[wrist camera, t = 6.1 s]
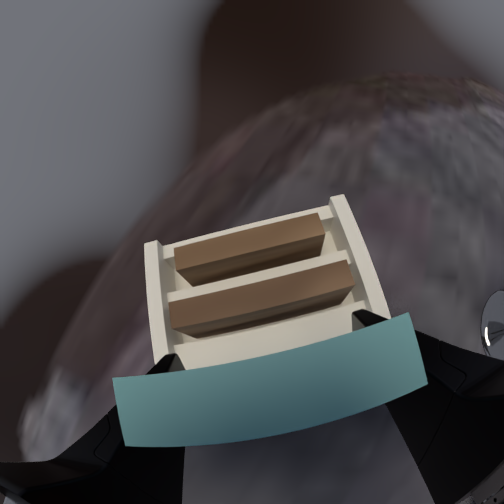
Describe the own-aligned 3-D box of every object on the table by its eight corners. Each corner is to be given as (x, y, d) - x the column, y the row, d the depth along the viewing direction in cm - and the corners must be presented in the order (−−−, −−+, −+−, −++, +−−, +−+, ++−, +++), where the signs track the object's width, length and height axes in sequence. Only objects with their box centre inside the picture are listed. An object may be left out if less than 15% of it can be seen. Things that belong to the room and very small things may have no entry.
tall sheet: (338, 378, 13) (427, 383, 4) (226, 403, 13) (125, 446, 4) (332, 351, 14) (408, 311, 5) (221, 377, 14) (112, 377, 5)
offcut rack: (385, 378, 16) (407, 378, 13) (190, 423, 17) (168, 433, 13) (335, 223, 22) (343, 194, 18) (166, 265, 22) (144, 243, 18)
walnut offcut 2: (340, 304, 18) (355, 284, 14) (196, 338, 18) (171, 328, 14) (334, 284, 19) (346, 259, 15) (193, 318, 19) (168, 302, 15)
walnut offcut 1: (319, 259, 20) (325, 233, 16) (196, 289, 20) (175, 270, 16) (313, 241, 20) (317, 212, 17) (193, 270, 20) (173, 248, 17)
